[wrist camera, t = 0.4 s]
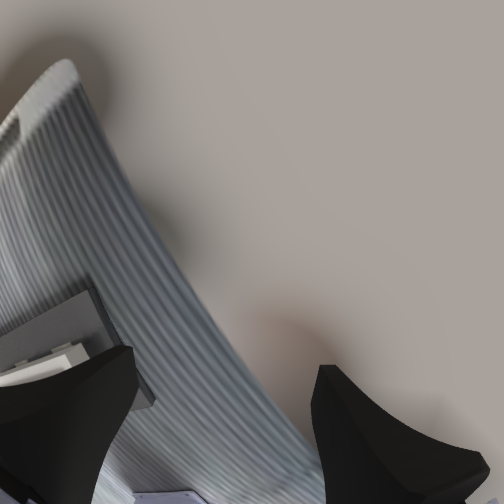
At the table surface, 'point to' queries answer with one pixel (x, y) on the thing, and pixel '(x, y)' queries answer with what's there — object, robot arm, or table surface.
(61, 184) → the table surface
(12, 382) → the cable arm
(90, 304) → the panel
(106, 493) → the table surface
